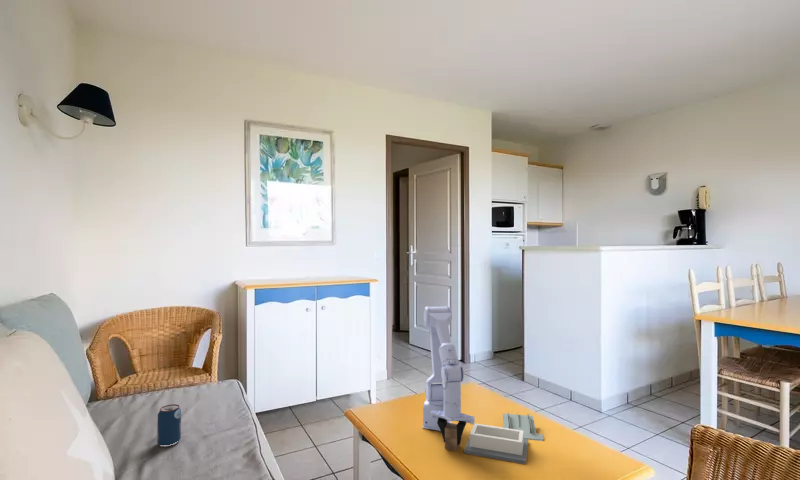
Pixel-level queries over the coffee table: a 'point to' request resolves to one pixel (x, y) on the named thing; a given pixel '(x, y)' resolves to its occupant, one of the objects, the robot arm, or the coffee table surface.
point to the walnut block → (451, 437)
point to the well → (497, 443)
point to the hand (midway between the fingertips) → (452, 442)
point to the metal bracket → (522, 425)
